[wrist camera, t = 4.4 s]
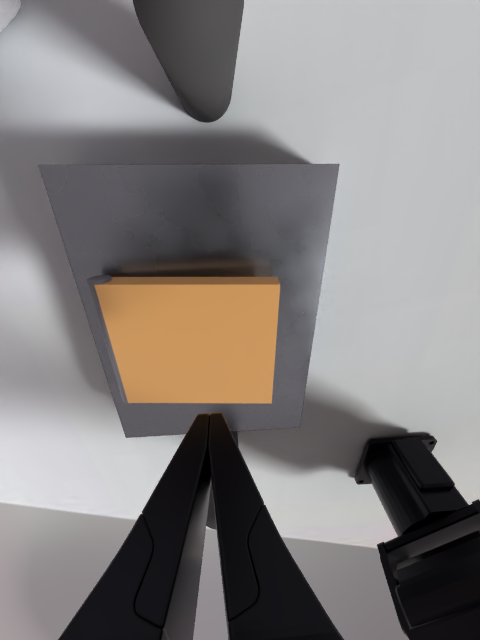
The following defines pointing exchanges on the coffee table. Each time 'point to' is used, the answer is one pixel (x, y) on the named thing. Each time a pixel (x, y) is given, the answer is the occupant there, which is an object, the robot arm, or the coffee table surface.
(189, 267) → the grey flat block
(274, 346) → the orange flat block
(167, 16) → the post
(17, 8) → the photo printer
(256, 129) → the coffee table surface
